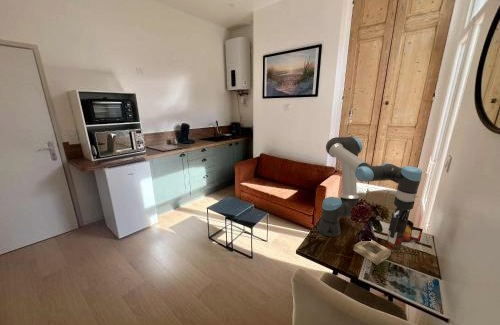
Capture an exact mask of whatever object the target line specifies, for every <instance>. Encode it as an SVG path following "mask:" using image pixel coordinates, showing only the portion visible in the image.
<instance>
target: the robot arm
mask: <svg viewBox="0 0 500 325" xmlns="http://www.w3.org/2000/svg"><path fill="white" fill-rule="evenodd" d="M362 150H363V144H362V141H361V139H359V138H358V137H356V136H341V137H339V136H336V137H331V138H330V139H329V140H328V141H327V142H326V145H325V151H326V153H327V154H328V155H329V156H330V157H331V158H336V159H337V160H338V161H340V163H341V174H342V175H341V177H342V178H341V179H342V181H341V182H342V194H341V195H340V197H336V196H335V197H334V196H328V197H325V198H323V201H322V205H321V216H320V219H319V222H318V223H317V226H316V227H317V231H318V232H319V233H320V234H322V235H323V236H327V237H332V238H334V237H338V236H340V235H341V231H342V230H341V226H340V218H349V217H352V216H351V209H352V208H353V207H354V206H355V204H356V203H357V202H359V201H360V200H361V199H360V196H359V195H358V194H357V190H358V189H357V181H358V182H364V183H365V182H367V183H368V182H378V181H381V182H382V181H384V182H385V181H391V182H393V183H395V184H397V187H396V188H397V189H396V192H395V197H394V201H393V204H394V206H395V207H396V208H395V210H394V212H392V213H391V219H390V222H389V227H388V231H390V235H389V234H388V235H389V239H388V238H387V239H388V241H389V242H391V243H393V244H395V240H396V236H397V229H398V227H399V224H400V222H401V220H404V221H406V222H407V221H408V220H409V217H410V213H411V210H413V209H414V206H415V201H416V198H418V195H417V194H418V191H419V190H418V189H419V187H420V183H421V180H422V175H423V171H422V169H421V168H420V167H417V166H416V167H415V166H410V165H404V166H402V167H400V166H397V165H395V164H393V163H389V162H383V163H382V164H380V165H371V164H370V163H368V162H366V161H365V160H363V159H362V158H360V157H359V154H361V152H362ZM406 227H407V226H406Z"/></svg>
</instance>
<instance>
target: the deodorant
mask: <svg viewBox="0 0 500 325" xmlns="http://www.w3.org/2000/svg"><path fill="white" fill-rule="evenodd" d="M406 225H407V222H406V221H404V220H401V222H400V224H399V227H398V229H397V236H396V240H395V244H393V243H391V242H389V241H388V239H389V235H390V231H389V230H388V231H389V232H388V235H387V239H386V244H385V245H386V248H388V249H389V250H391V251H392V250H393V251H400V250H401V247H402V243H403V242H402V240H403V236H404V233H405V229H406Z"/></svg>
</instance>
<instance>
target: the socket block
mask: <svg viewBox="0 0 500 325" xmlns="http://www.w3.org/2000/svg"><path fill="white" fill-rule="evenodd" d="M352 251H354V252H355V253H357V254H359V255H361V256H362V257H364V258H365V259H367V260H368V261H370V262H372V263H373V264H374V265H376V266H378V265H380V264H381V263H382V262H384V261H385V260H386V259H388V258H389V257H390V256H391V255H392V249H390V248H389V247H387V246H386V247H385V246H384V245H381V244H380V243H378V242H376V241H375V240H373V239H371V241H362V240H360V241H359V242H357V243H356V244H354V245H353V249H352Z"/></svg>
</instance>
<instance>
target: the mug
mask: <svg viewBox="0 0 500 325" xmlns="http://www.w3.org/2000/svg"><path fill="white" fill-rule="evenodd" d="M414 224H415V223H414V222H413V221H411V220H409V219H408V221H407V225H406V226H407V227H406V229H405V233H404V236H403V240H402V243H409V242H410V240H412V241H415V242H419V243H420V242H421V239H422V235H423V230H424V229H423V228H420V227H416V226H414ZM413 231H418V232H419V234H418V237H414V236H412V232H413Z"/></svg>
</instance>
